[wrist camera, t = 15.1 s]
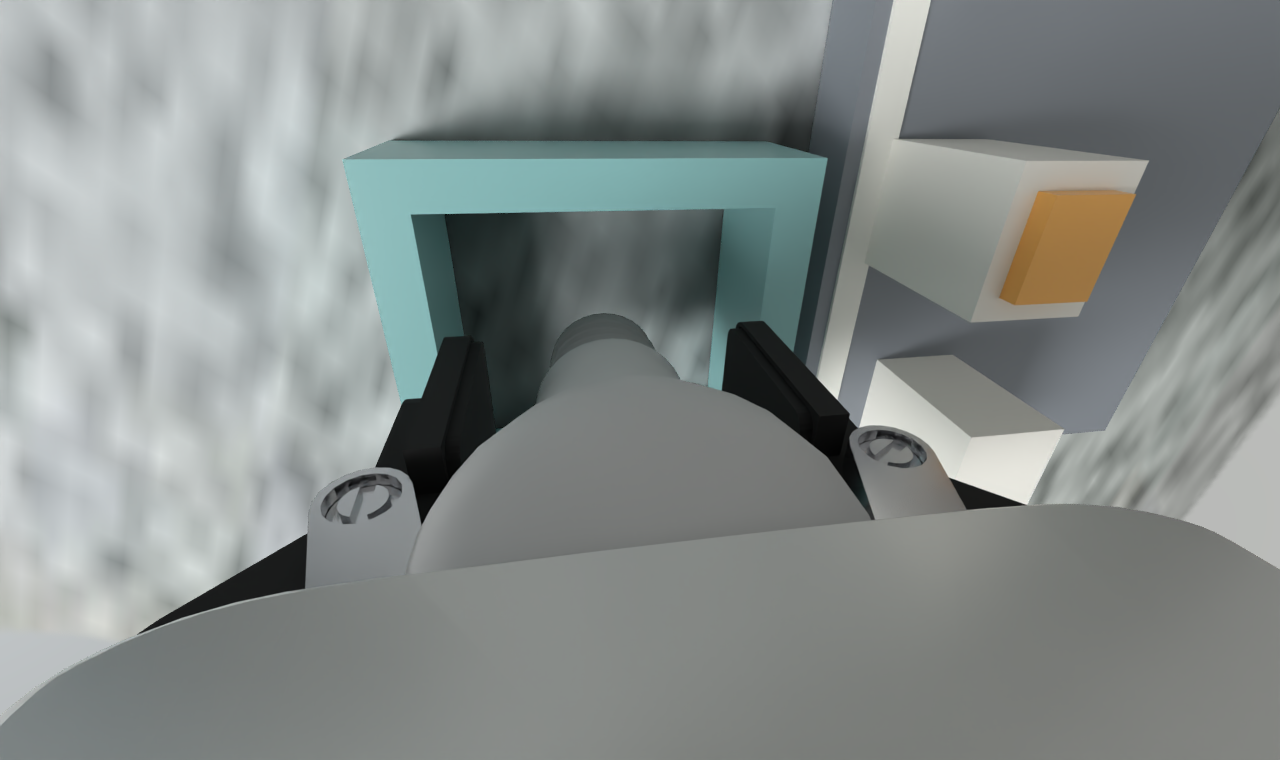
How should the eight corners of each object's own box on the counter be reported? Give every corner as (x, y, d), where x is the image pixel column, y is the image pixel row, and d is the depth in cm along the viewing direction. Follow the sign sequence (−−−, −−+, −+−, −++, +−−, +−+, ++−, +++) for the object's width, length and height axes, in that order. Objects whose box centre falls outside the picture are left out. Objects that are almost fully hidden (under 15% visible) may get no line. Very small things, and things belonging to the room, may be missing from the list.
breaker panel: (867, -214, 11) (1155, -473, 6) (1325, -163, 13) (1855, -327, 8) (765, 425, 19) (849, 555, 14) (1057, 401, 21) (1230, 507, 15)
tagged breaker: (893, 138, 13) (1046, 164, 9) (987, 139, 13) (1172, 163, 9) (864, 263, 14) (984, 330, 10) (949, 259, 14) (1095, 324, 11)
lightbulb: (640, 174, 12) (983, 559, 2) (751, 370, 15) (1100, 887, 5) (425, 318, 13) (59, 1003, 3) (571, 475, 16) (596, 1072, 6)
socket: (389, 140, 13) (342, 159, 10) (766, 141, 14) (827, 157, 11) (451, 457, 17) (433, 536, 14) (730, 434, 19) (766, 501, 16)
